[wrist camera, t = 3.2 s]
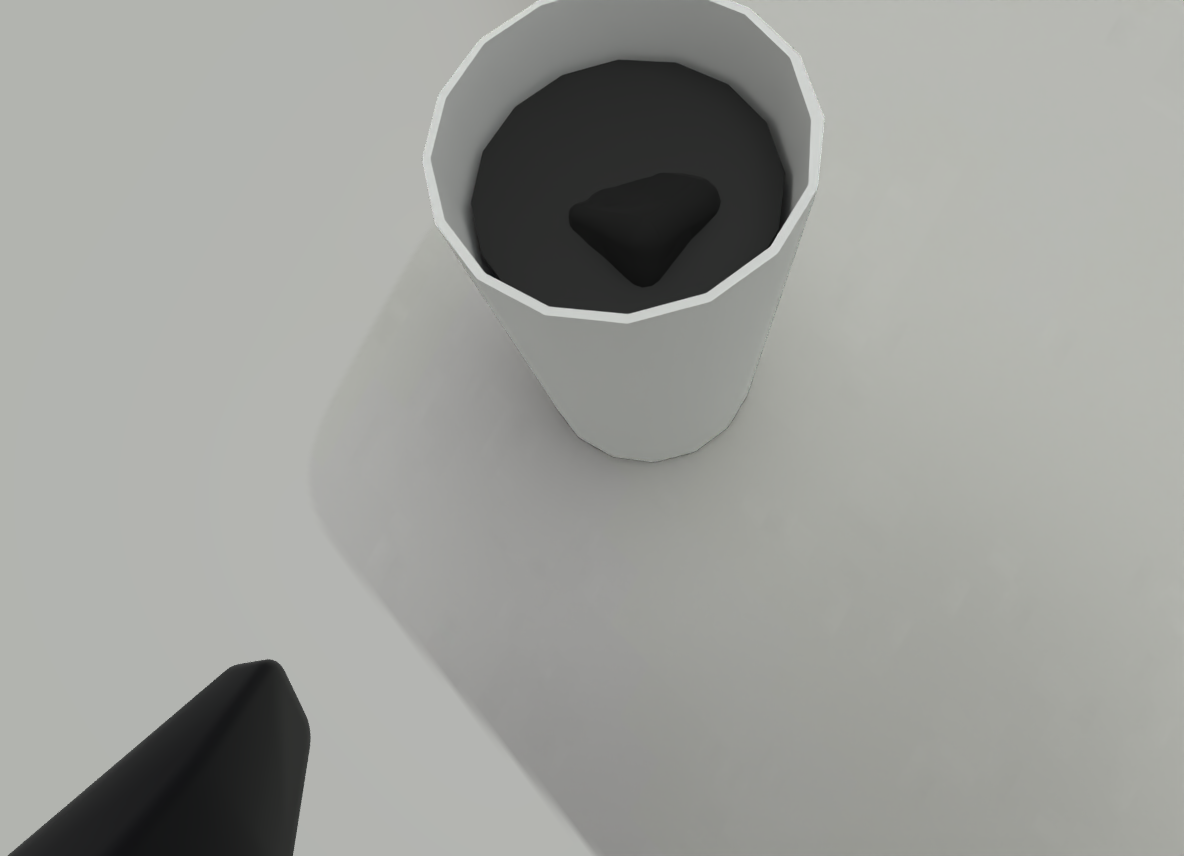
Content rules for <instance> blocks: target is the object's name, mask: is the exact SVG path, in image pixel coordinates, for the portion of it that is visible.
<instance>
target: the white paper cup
mask: <svg viewBox="0 0 1184 856" xmlns="http://www.w3.org/2000/svg"><path fill="white" fill-rule="evenodd" d="M824 121H825V117H824V115H823V112H822V110H821V107H820V104H819V102H818V99H817V97H816V94H815V92H814V89H813V87H812V84H811V81H810V79H809V76H808V74H807V71H806V69H805V66H804V64H803V61H802V59H801V56H800V54H799V53H798V52H796V51H795V50H794V49H793V48H792V47H791V46H790V45H789V44H788V43H787V42H786V41H785V40H784V39H783V38H782V37H780V36H779V35H778V34H777V33H776V32H775V31H774V30H773V29H772V28H771V27H770V26H769V25H768V24H767V23H766V22H765V21H763V20H762V19H761V18H760V17H759V16H758V15H757V14H756V13H755V12H754V11H753V10H752V9H751V8H749V7H746V6H744V5H741V4H739V3H736V2H734V1H731V0H538V1H537V2H535V3H534V4H532V5H531V6H529V7H528V8H526V9H525V10H523V11H522V12H520V13H519V14H517V15H516V16H514V17H512V18H511V19H509V20H508V21H507V22H505V23H504V24H502V25H500V26H499V27H497V28H496V29H494V30H493V31H492V32H490V33H488V34H487V35H485V36H484V37H482V38H481V39H480V40H479V41H478V42H477V44H476V45H475V46H474V48H473V49H472V50H471V52H470V53H469V54H468V56H467V57H466V58H465V60H464V61H463V63H462V64H461V65H460V66H459V68H458V69H457V70H456V72H455V73H454V74H453V76H452V77H451V78H450V80H449V81H448V83H447V84H446V85H445V86H444V88H443V89H442V91H441V92H440V93H439V95H438V98H437V103H436V106H435V110H434V114H433V118H432V122H431V126H430V130H429V134H428V138H427V141H426V146H425V149H424V153H423V157H422V161H423V166H424V170H425V176H426V181H427V186H428V191H429V197H430V201H431V207H432V212H433V217H434V222H435V225H436V226H437V228H438V229H439V231H440V232H441V234H442V235H443V237H444V238H445V240H446V241H447V243H448V244H449V246H450V247H451V249H452V250H453V252H454V253H455V255H456V256H457V258H458V259H459V261H460V263H461V264H462V266H463V267H464V269H465V270H466V272H467V273H468V275H469V276H470V278H471V279H472V281H473V282H474V284H475V285H476V287H477V288H478V290H479V291H480V293H481V294H482V296H483V297H484V299H485V300H486V302H487V303H488V305H489V306H490V308H491V309H492V311H493V312H494V314H495V315H496V317H497V319H498V320H499V322H500V323H501V325H502V326H503V328H504V329H505V331H506V332H507V334H508V335H509V337H510V338H511V340H512V341H513V343H514V344H515V346H516V347H517V349H518V350H519V352H520V353H521V355H522V356H523V358H524V359H525V361H526V362H527V364H528V365H529V367H530V368H531V370H532V371H533V373H534V375H535V376H536V378H537V379H538V381H539V382H540V384H541V385H542V387H543V388H544V390H545V391H546V393H547V394H548V396H549V397H550V399H551V400H552V402H553V403H554V405H555V407H556V408H557V409H558V411H559V412H560V413H561V415H562V416H563V417H564V419H565V420H566V421H567V423H568V424H569V425H570V427H571V428H572V429H573V431H574V432H575V433H576V435H577V436H578V437H579V438H581V439H582V440H584V441H586V442H588V443H589V444H591V445H593V446H595V447H597V448H598V449H600V450H602V451H604V452H605V453H607V454H609V455H611V456H612V457H617V458H625V459H632V460H640V461H648V462H657V461H661V460H665V459H669V458H673V457H677V456H681V455H685V454H689V453H693V452H695V451H697V450H698V449H699V448H701V447H702V446H703V445H705V444H706V443H708V442H709V441H710V440H712V439H713V438H714V437H716V436H717V435H718V434H720V433H721V432H722V431H724V430H725V429H727V428H728V426H729V425H730V423H731V421H732V420H733V418H734V416H735V415H736V413H737V411H738V410H739V408H740V406H741V405H742V403H743V401H744V399H745V398H746V396H747V394H748V391H749V388H750V385H751V383H752V380H753V377H754V374H755V371H756V368H757V365H758V362H759V359H760V356H761V353H762V350H763V347H764V344H765V341H766V339H767V336H768V333H769V330H770V327H771V324H772V321H773V318H774V315H775V312H776V309H777V306H778V303H779V300H780V297H781V295H782V292H783V289H784V286H785V283H786V280H787V277H788V274H789V271H790V268H791V265H792V262H793V259H794V256H795V253H796V250H797V248H798V245H799V242H800V239H801V236H802V233H803V230H804V227H805V224H806V221H807V218H808V215H809V212H810V209H811V206H812V204H813V201H814V198H815V195H816V192H817V189H818V181H819V171H820V161H821V151H822V141H823V131H824Z"/></svg>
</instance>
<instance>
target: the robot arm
mask: <svg viewBox="0 0 1184 856" xmlns="http://www.w3.org/2000/svg"><path fill="white" fill-rule="evenodd" d="M309 749H310V728H309V723H308V720H307V717H306V715H305V713H304V711H303V708H302V706H301V704H300V702H299V700H298V698H297V696H296V694H295V692H294V690H293V688H292V685H291V683H290V681H289V679H288V677H287V675H286V673H285V671H284V669H283V668H282V666H281V665H280V664H279V663H278V662H276V661H274V660H261V661H255V662H249V663H243V664H238V665H234V666H232V667H230V668H229V669H227V670H226V671H225V672H223V673H222V674H221V675H220V676H219V677H218V678H216V680H214V681H213V682H212V683H211V684H210V685H208V686H207V687H206V688H205V689H203V690H202V691H201V692H200V693H199V694H198V695H196V696H195V697H194V698H193V699H192V700H190V702H188V703H187V704H186V705H185V706H183V707H182V708H181V709H180V710H179V711H178V712H176V713H175V714H174V715H173V716H172V717H171V718H169V719H168V720H167V721H166V722H165V723H163V724H162V725H161V726H160V727H159V728H158V729H157V730H155V731H154V732H153V733H152V734H150V735H149V736H148V737H147V738H146V739H145V740H143V741H142V742H141V743H140V744H139V745H137V746H136V747H135V748H134V749H133V750H132V751H131V752H129V753H128V754H127V755H126V756H125V757H123V758H122V759H121V760H120V761H119V762H117V763H116V764H115V765H114V766H113V767H112V768H111V769H109V770H108V771H107V772H106V773H105V774H103V775H102V776H101V777H100V778H99V779H97V781H95V782H94V783H93V784H92V785H90V786H89V787H88V788H87V789H86V790H85V791H83V792H82V793H81V794H80V795H79V796H78V797H76V798H75V799H74V800H73V801H72V802H70V803H69V804H68V805H67V806H66V807H65V808H63V809H62V810H61V811H60V812H59V813H57V814H56V815H55V816H54V817H53V818H51V819H50V820H49V821H48V822H47V823H46V824H44V825H43V826H42V827H41V828H40V829H39V830H37V831H36V832H35V833H34V834H33V835H31V836H30V837H29V838H28V839H27V840H26V841H24V842H23V843H22V844H21V845H20V846H19V847H17V848H16V849H15V850H14V851H13V852H12V853H10V854H9V855H8V856H293V851H294V845H295V838H296V832H297V826H298V819H299V812H300V806H301V800H302V793H303V787H304V781H305V774H306V768H307V762H308V755H309Z"/></svg>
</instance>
